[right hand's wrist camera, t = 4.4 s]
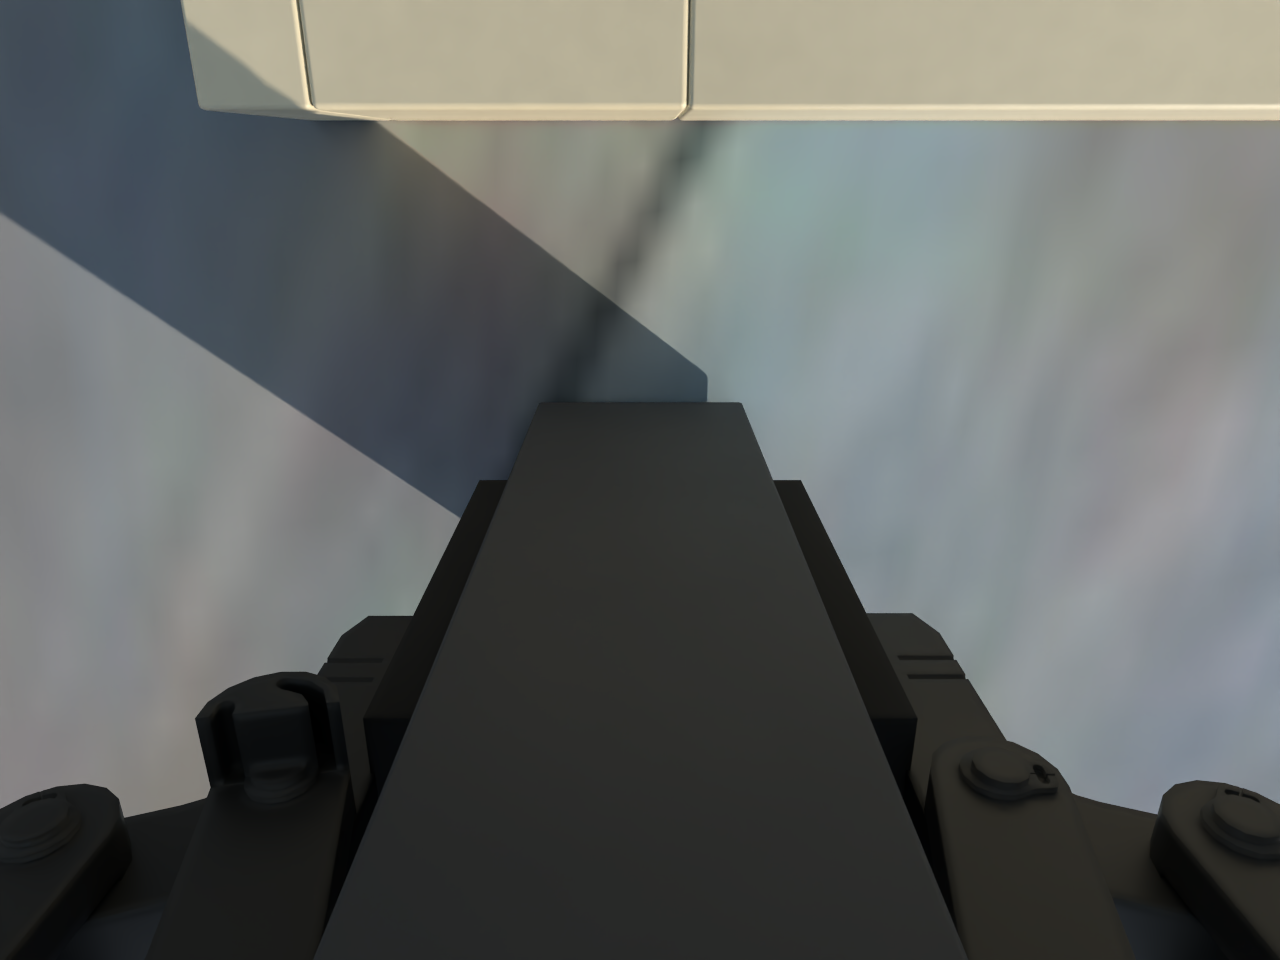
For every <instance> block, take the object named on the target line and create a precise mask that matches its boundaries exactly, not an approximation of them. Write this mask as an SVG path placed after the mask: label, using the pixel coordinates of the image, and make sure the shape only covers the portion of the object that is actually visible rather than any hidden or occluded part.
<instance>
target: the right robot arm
mask: <svg viewBox="0 0 1280 960" xmlns="http://www.w3.org/2000/svg"><path fill="white" fill-rule="evenodd" d="M507 481H508V480H480V481H479V483H478V485H477V487H476V489H475V491H474V493H473V495H472V497H471V499H470V501H469V503H468V505H467V507H466V509H465V511H464V513H463V515H462V517H461V519H460V521H459V524H458V526H457V528H456V530H455V532H454V534H453V536H452V538H451V540H450V542H449V544H448V546H447V548H446V550H445V552H444V554H443V556H442V558H441V560H440V562H439V564H438V566H437V568H436V570H435V572H434V574H433V576H432V578H431V581H430V583H429V585H428V587H427V589H426V591H425V593H424V595H423V597H422V599H421V601H420V603H419V605H418V607H417V609H416V611H415V613H414V615H413V616H368V617H366V618H365V619H364V620H362V621H361V622H360V623H358V624H357V625H355V626H354V627H353V628H351V629H350V630H349V631H347V632H346V633H344V634H343V635H342V636H341V637H340V639H339V641H338V642H337V644H336V645H335V647H334V649H333V650H332V652H331V654H330V655H329V657H328V661H327V663H324V665H323V666H322V668H321V670H320V671H319V673H318V675H316V674H312V673H308V672H278V673H273V674H269V675H264V676H259V677H254V678H252V679H249V680H247V681H244V682H242V683H239V684H237V685H235V686H232V687H230V688H228V689H226V690H225V691H223V692H222V693H220V694H219V695H218V696H216V697H215V698H213V699H212V700H210V701H209V702H207V704H206V705H205V706H204V708H203V709H202V710H201V711H200V713H199V714H198V715H197V717H196V718H195V721H196V725H197V729H198V734H199V738H200V743H201V747H202V751H203V756H204V760H205V764H206V769H207V773H208V778H209V782H210V786H211V788H210V791H209V794H208V796H207V798H205V799H201V800H198V801H195V802H191V803H188V804H184V805H181V806H176V807H172V808H167V809H163V810H158V811H153V812H149V813H144V814H140V815H135V816H131V817H126V818H124V816H123V812H122V809H121V805H120V802H119V799H118V798H117V797H116V796H115V795H114V794H113V793H112V792H111V791H109V790H108V789H107V788H104V787H99V786H94V785H89V784H77V785H68V786H58V787H54V788H51V789H47V790H43V791H41V792H37V793H34V794H31V795H28V796H25V797H23V798H21V799H19V800H17V801H15V802H13V803H11V804H9V805H7V806H5V807H3V808H1V809H0V960H313V959H314V956H315V954H316V951H317V949H318V946H319V944H320V941H321V939H322V936H323V934H324V932H325V929H326V927H327V924H328V922H329V919H330V917H331V914H332V912H333V909H334V907H335V904H336V902H337V900H338V897H339V895H340V892H341V890H342V887H343V885H344V882H345V880H346V877H347V875H348V872H349V870H350V868H351V865H352V863H353V860H354V858H355V855H356V853H357V850H358V848H359V845H360V843H361V840H362V838H363V836H364V833H365V831H366V828H367V826H368V823H369V821H370V818H371V816H372V813H373V811H374V808H375V806H376V804H377V801H378V799H379V796H380V794H381V791H382V789H383V786H384V784H385V781H386V779H387V776H388V774H389V772H390V769H391V767H392V764H393V762H394V759H395V757H396V754H397V752H398V749H399V747H400V744H401V742H402V740H403V737H404V735H405V732H406V730H407V727H408V725H409V722H410V720H411V717H412V715H413V712H414V710H415V708H416V705H417V703H418V700H419V698H420V695H421V693H422V690H423V688H424V685H425V683H426V680H427V678H428V676H429V673H430V671H431V668H432V666H433V663H434V661H435V658H436V656H437V653H438V651H439V648H440V646H441V644H442V641H443V639H444V636H445V634H446V631H447V629H448V626H449V624H450V621H451V619H452V616H453V614H454V612H455V609H456V607H457V604H458V602H459V599H460V597H461V594H462V592H463V589H464V587H465V584H466V582H467V580H468V577H469V575H470V572H471V570H472V567H473V565H474V562H475V560H476V557H477V555H478V552H479V550H480V548H481V545H482V543H483V540H484V538H485V535H486V533H487V530H488V528H489V525H490V523H491V520H492V518H493V516H494V513H495V511H496V508H497V506H498V503H499V501H500V498H501V496H502V493H503V491H504V488H505V486H506V484H507ZM773 482H774V484H775V486H776V489H777V491H778V494H779V496H780V499H781V501H782V504H783V506H784V509H785V511H786V513H787V516H788V518H789V521H790V523H791V526H792V528H793V531H794V533H795V536H796V538H797V540H798V543H799V545H800V548H801V550H802V553H803V555H804V558H805V560H806V563H807V565H808V567H809V570H810V572H811V575H812V577H813V580H814V582H815V585H816V587H817V589H818V592H819V594H820V597H821V599H822V602H823V604H824V607H825V609H826V612H827V614H828V616H829V619H830V621H831V624H832V626H833V629H834V631H835V634H836V636H837V639H838V641H839V643H840V646H841V648H842V651H843V653H844V656H845V658H846V661H847V663H848V666H849V668H850V670H851V673H852V675H853V678H854V680H855V683H856V685H857V688H858V690H859V693H860V695H861V697H862V700H863V702H864V705H865V707H866V710H867V712H868V715H869V717H870V720H871V722H872V724H873V727H874V729H875V732H876V734H877V737H878V739H879V742H880V744H881V747H882V749H883V751H884V754H885V756H886V759H887V761H888V764H889V766H890V769H891V771H892V774H893V776H894V778H895V781H896V783H897V786H898V788H899V791H900V793H901V796H902V798H903V801H904V803H905V805H906V808H907V810H908V813H909V815H910V818H911V820H912V823H913V825H914V828H915V830H916V832H917V835H918V837H919V840H920V842H921V845H922V847H923V850H924V852H925V855H926V857H927V859H928V862H929V864H930V867H931V869H932V872H933V874H934V877H935V879H936V882H937V884H938V886H939V889H940V891H941V894H942V896H943V899H944V901H945V904H946V906H947V909H948V911H949V913H950V916H951V918H952V921H953V923H954V926H955V928H956V931H957V933H958V936H959V938H960V940H961V943H962V945H963V948H964V950H965V953H966V955H967V958H968V960H1280V804H1278V803H1276V802H1274V801H1272V800H1270V799H1268V798H1266V797H1264V796H1262V795H1260V794H1258V793H1256V792H1252V791H1249V790H1247V789H1244V788H1243V789H1242V788H1239V787H1237V786H1233V785H1229V784H1226V783H1219V782H1209V781H1199V780H1196V781H1190V782H1185V783H1180V784H1175V785H1174V786H1173V787H1172V788H1171V789H1169V790H1168V791H1167V792H1166V793H1165V794H1164V795H1163V797H1162V800H1161V804H1160V808H1159V811H1158V815H1157V814H1152V813H1147V812H1143V811H1138V810H1134V809H1129V808H1125V807H1120V806H1116V805H1111V804H1107V803H1102V802H1098V801H1095V800H1091V799H1088V798H1084V797H1081V796H1077V795H1075V794H1073V793H1072V792H1071V790H1070V787H1069V785H1068V784H1067V782H1066V781H1065V779H1064V778H1063V776H1062V775H1061V774H1060V772H1059V771H1058V769H1057V768H1055V767H1054V766H1053V765H1052V764H1050V763H1049V762H1048V761H1047V760H1045V759H1044V758H1043V757H1041V756H1040V755H1039V754H1037V753H1035V752H1033V751H1031V750H1029V749H1027V748H1024V747H1022V746H1020V745H1018V744H1016V743H1014V742H1010V741H1006V739H1005V737H1004V736H1003V734H1002V733H1001V731H1000V729H999V728H998V726H997V725H996V723H995V721H994V720H993V718H992V717H991V715H990V713H989V712H988V710H987V708H986V707H985V705H984V704H983V702H982V700H981V699H980V697H979V696H978V694H977V692H976V691H975V689H974V688H973V686H972V684H971V683H970V681H969V680H968V679H965V673H964V672H963V670H962V668H961V667H960V665H959V664H958V662H957V660H954V658H953V654H952V652H951V651H950V649H949V648H948V646H947V644H946V643H945V641H944V640H943V638H942V636H941V635H940V633H939V632H937V631H936V630H935V629H933V628H932V627H930V626H929V625H928V624H926V623H925V622H924V621H922V620H921V619H919V618H918V617H917V616H915V615H914V614H913V613H866V612H865V610H864V608H863V606H862V604H861V602H860V600H859V598H858V596H857V594H856V592H855V590H854V587H853V585H852V583H851V581H850V579H849V577H848V575H847V573H846V571H845V569H844V567H843V565H842V563H841V561H840V559H839V557H838V555H837V553H836V551H835V549H834V547H833V545H832V543H831V541H830V539H829V537H828V535H827V533H826V531H825V528H824V526H823V524H822V522H821V520H820V518H819V516H818V514H817V512H816V510H815V508H814V506H813V504H812V502H811V500H810V498H809V496H808V494H807V492H806V490H805V488H804V486H803V484H802V482H801V480H773Z"/></svg>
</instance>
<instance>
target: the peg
mask: <svg viewBox="0 0 1280 960" xmlns="http://www.w3.org/2000/svg"><path fill="white" fill-rule="evenodd" d="M313 960H968V958H967V955H966V953H965V950H964V948H963V945H962V943H961V940H960V938H959V936H958V933H957V931H956V928H955V926H954V923H953V921H952V918H951V916H950V913H949V911H948V909H947V906H946V904H945V901H944V899H943V896H942V894H941V891H940V889H939V886H938V884H937V882H936V879H935V877H934V874H933V872H932V869H931V867H930V864H929V862H928V859H927V857H926V855H925V852H924V850H923V847H922V845H921V842H920V840H919V837H918V835H917V832H916V830H915V828H914V825H913V823H912V820H911V818H910V815H909V813H908V810H907V808H906V805H905V803H904V801H903V798H902V796H901V793H900V791H899V788H898V786H897V783H896V781H895V778H894V776H893V774H892V771H891V769H890V766H889V764H888V761H887V759H886V756H885V754H884V751H883V749H882V747H881V744H880V742H879V739H878V737H877V734H876V732H875V729H874V727H873V724H872V722H871V720H870V717H869V715H868V712H867V710H866V707H865V705H864V702H863V700H862V697H861V695H860V693H859V690H858V688H857V685H856V683H855V680H854V678H853V675H852V673H851V670H850V668H849V666H848V663H847V661H846V658H845V656H844V653H843V651H842V648H841V646H840V643H839V641H838V639H837V636H836V634H835V631H834V629H833V626H832V624H831V621H830V619H829V616H828V614H827V612H826V609H825V607H824V604H823V602H822V599H821V597H820V594H819V592H818V589H817V587H816V585H815V582H814V580H813V577H812V575H811V572H810V570H809V567H808V565H807V563H806V560H805V558H804V555H803V553H802V550H801V548H800V545H799V543H798V540H797V538H796V536H795V533H794V531H793V528H792V526H791V523H790V521H789V518H788V516H787V513H786V511H785V509H784V506H783V504H782V501H781V499H780V496H779V494H778V491H777V489H776V486H775V484H774V482H773V479H772V477H771V474H770V472H769V469H768V467H767V464H766V462H765V459H764V457H763V455H762V452H761V450H760V447H759V445H758V442H757V440H756V437H755V435H754V432H753V430H752V428H751V425H750V423H749V420H748V418H747V415H746V413H745V410H744V408H743V405H742V403H739V402H541V403H539V405H538V407H537V410H536V412H535V415H534V417H533V420H532V422H531V424H530V427H529V429H528V432H527V434H526V437H525V439H524V442H523V444H522V447H521V449H520V452H519V454H518V456H517V459H516V461H515V464H514V466H513V469H512V471H511V474H510V476H509V479H508V481H507V484H506V486H505V488H504V491H503V493H502V496H501V498H500V501H499V503H498V506H497V508H496V511H495V513H494V516H493V518H492V520H491V523H490V525H489V528H488V530H487V533H486V535H485V538H484V540H483V543H482V545H481V548H480V550H479V552H478V555H477V557H476V560H475V562H474V565H473V567H472V570H471V572H470V575H469V577H468V580H467V582H466V584H465V587H464V589H463V592H462V594H461V597H460V599H459V602H458V604H457V607H456V609H455V612H454V614H453V616H452V619H451V621H450V624H449V626H448V629H447V631H446V634H445V636H444V639H443V641H442V644H441V646H440V648H439V651H438V653H437V656H436V658H435V661H434V663H433V666H432V668H431V671H430V673H429V676H428V678H427V680H426V683H425V685H424V688H423V690H422V693H421V695H420V698H419V700H418V703H417V705H416V708H415V710H414V712H413V715H412V717H411V720H410V722H409V725H408V727H407V730H406V732H405V735H404V737H403V740H402V742H401V744H400V747H399V749H398V752H397V754H396V757H395V759H394V762H393V764H392V767H391V769H390V772H389V774H388V776H387V779H386V781H385V784H384V786H383V789H382V791H381V794H380V796H379V799H378V801H377V804H376V806H375V808H374V811H373V813H372V816H371V818H370V821H369V823H368V826H367V828H366V831H365V833H364V836H363V838H362V840H361V843H360V845H359V848H358V850H357V853H356V855H355V858H354V860H353V863H352V865H351V868H350V870H349V872H348V875H347V877H346V880H345V882H344V885H343V887H342V890H341V892H340V895H339V897H338V900H337V902H336V904H335V907H334V909H333V912H332V914H331V917H330V919H329V922H328V924H327V927H326V929H325V932H324V934H323V936H322V939H321V941H320V944H319V946H318V949H317V951H316V954H315V956H314V959H313Z"/></svg>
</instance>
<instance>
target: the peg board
mask: <svg viewBox="0 0 1280 960" xmlns="http://www.w3.org/2000/svg"><path fill="white" fill-rule="evenodd" d="M181 6H182V12H183V18H184V23H185V29H186V35H187V41H188V46H189V52H190V58H191V64H192V70H193V75H194V81H195V87H196V93H197V99H198V104H199V106H200V108H201V109H203V110H207V111H218V112H228V113H239V114H249V115H260V116H270V117H281V118H292V119H302V120H390V119H391V120H674V119H676V118H677V117H678V118H679V119H680V120H1280V0H181Z"/></svg>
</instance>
